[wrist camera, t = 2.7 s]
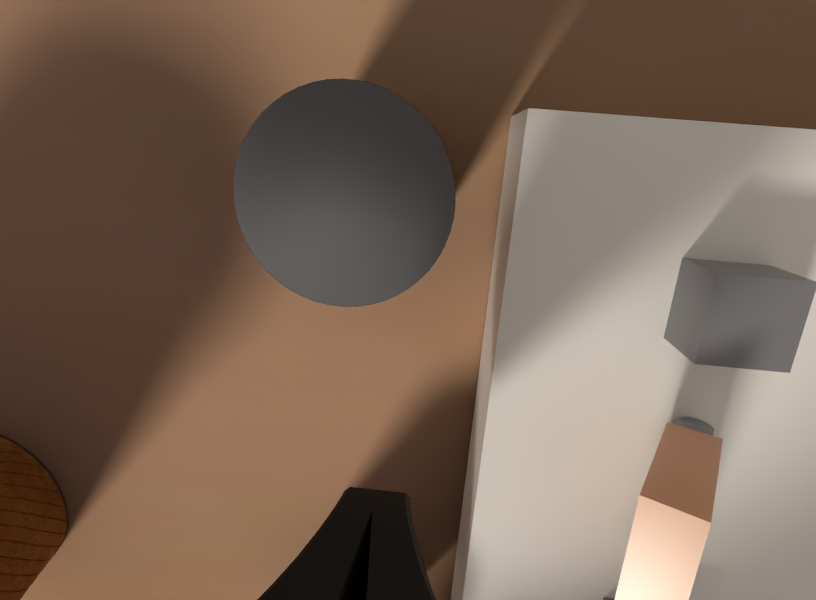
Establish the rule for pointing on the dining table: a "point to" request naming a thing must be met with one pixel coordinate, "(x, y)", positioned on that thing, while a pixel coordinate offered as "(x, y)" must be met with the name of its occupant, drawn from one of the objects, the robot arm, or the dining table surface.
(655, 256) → the panel
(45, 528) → the disposable coffee cup
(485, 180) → the dining table surface
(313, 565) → the robot arm
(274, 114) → the post
